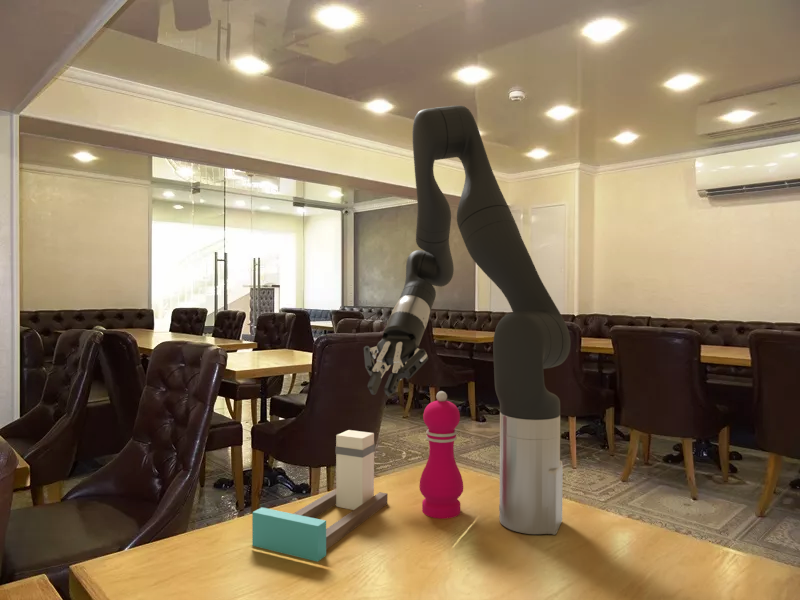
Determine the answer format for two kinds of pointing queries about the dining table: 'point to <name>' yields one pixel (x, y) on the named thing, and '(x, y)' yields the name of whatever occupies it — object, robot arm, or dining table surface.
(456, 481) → the pepper mill
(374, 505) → the guide rails
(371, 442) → the sleeve
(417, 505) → the dining table surface
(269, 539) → the teal rectangular block
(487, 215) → the robot arm
